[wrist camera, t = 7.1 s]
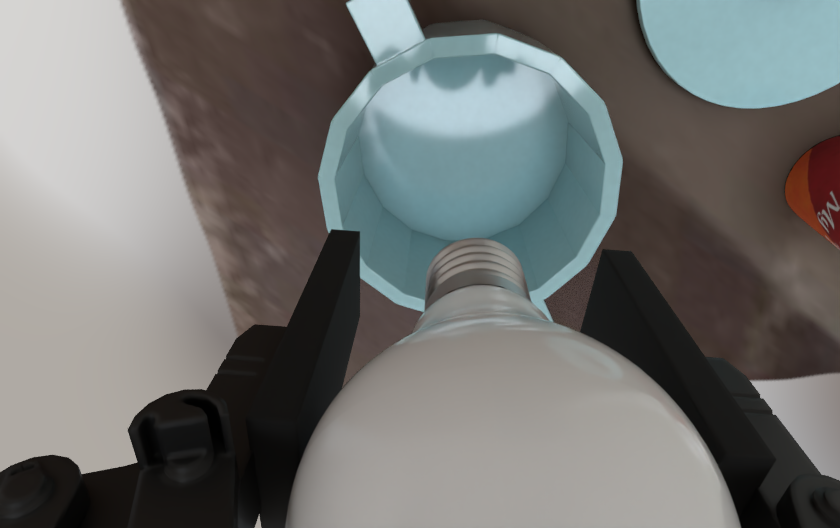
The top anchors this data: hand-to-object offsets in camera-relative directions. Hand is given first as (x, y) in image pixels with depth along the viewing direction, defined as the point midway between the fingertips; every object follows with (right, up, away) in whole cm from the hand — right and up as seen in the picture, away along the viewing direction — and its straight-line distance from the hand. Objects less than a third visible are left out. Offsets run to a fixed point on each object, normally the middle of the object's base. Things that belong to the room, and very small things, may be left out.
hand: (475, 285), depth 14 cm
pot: (+1, +8, +18) cm, 20 cm away
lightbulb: (0, +1, +1) cm, 1 cm away
